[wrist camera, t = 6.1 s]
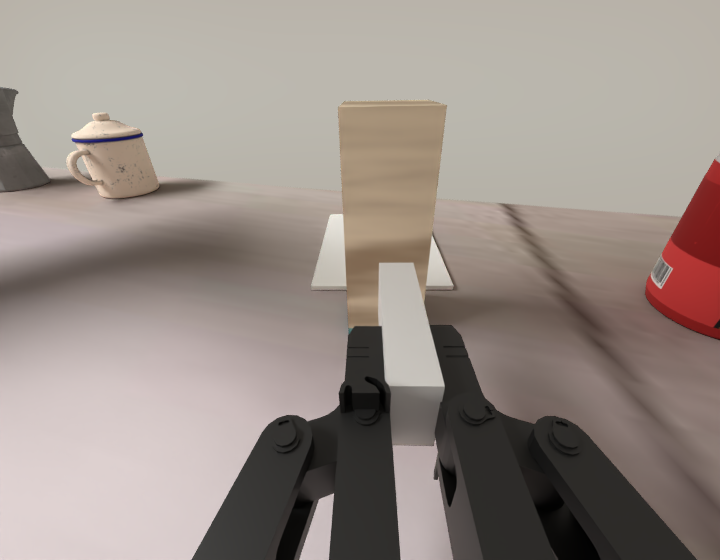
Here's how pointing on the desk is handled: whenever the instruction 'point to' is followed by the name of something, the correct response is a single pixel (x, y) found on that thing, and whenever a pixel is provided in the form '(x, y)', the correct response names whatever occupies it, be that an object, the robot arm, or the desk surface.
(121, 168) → the teacup with lid
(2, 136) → the coffeepot
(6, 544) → the desk surface
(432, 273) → the mat
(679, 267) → the canned food
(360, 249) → the block
